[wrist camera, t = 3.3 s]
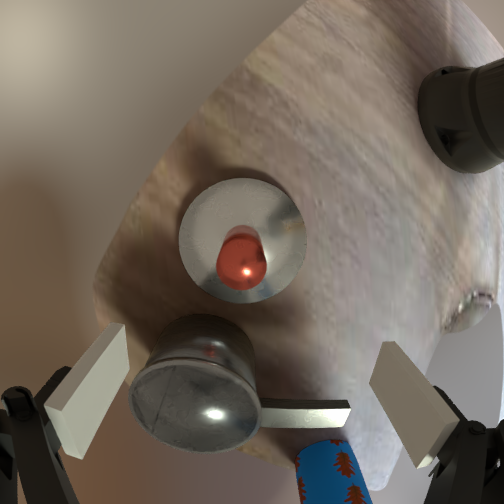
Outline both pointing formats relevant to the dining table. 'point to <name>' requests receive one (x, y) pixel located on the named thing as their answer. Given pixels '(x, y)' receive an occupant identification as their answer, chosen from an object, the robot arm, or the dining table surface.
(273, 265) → the lid
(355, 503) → the thermos
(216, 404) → the pot
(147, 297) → the dining table surface
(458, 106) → the robot arm
